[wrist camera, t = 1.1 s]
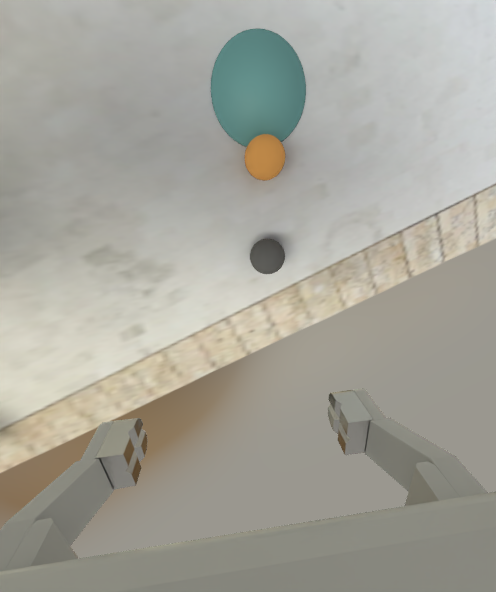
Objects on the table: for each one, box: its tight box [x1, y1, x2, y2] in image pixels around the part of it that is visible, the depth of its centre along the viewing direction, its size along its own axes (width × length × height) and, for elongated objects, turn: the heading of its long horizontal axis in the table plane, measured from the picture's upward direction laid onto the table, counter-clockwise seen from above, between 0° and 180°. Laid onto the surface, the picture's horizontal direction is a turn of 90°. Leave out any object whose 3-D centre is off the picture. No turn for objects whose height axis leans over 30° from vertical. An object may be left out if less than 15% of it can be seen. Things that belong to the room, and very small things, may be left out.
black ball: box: [250, 239, 285, 274], centre depth 40 cm, size 6×6×6 cm
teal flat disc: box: [211, 29, 306, 147], centre depth 34 cm, size 13×13×1 cm
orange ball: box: [245, 134, 285, 180], centre depth 34 cm, size 6×6×6 cm
